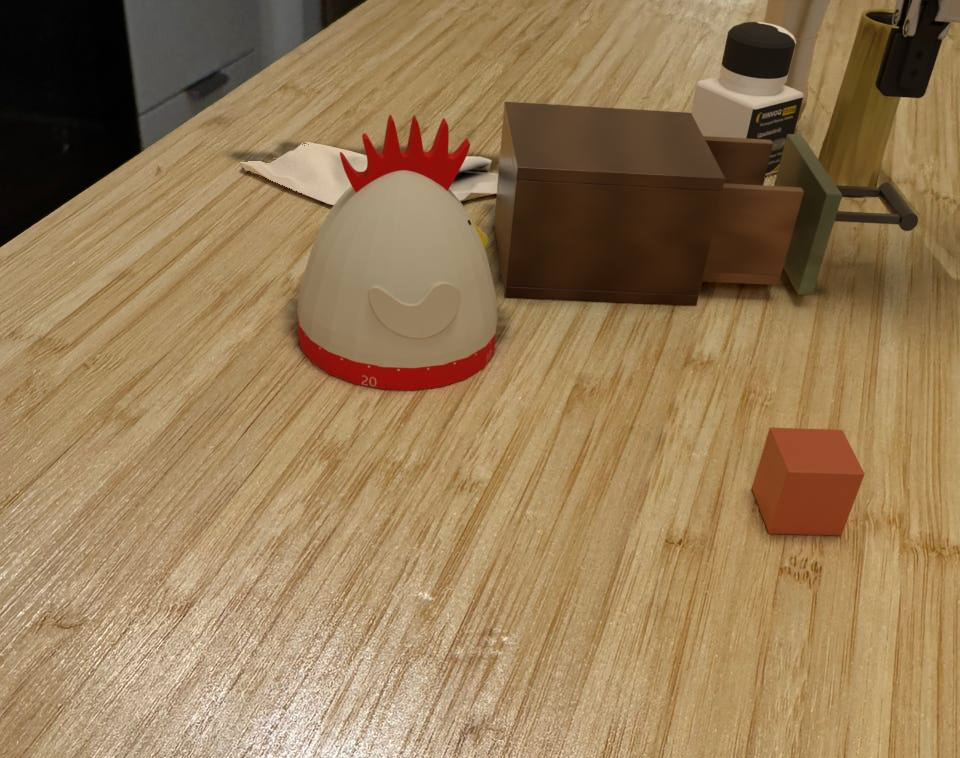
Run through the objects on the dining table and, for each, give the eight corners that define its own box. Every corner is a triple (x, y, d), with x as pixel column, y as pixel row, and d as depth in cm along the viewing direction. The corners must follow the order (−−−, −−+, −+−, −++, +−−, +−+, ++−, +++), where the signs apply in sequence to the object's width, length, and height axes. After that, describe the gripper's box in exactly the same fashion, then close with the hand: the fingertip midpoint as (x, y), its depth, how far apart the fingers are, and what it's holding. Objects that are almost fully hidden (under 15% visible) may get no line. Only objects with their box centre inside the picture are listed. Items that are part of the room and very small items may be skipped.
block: (821, 490, 71) (842, 429, 68) (842, 536, 68) (865, 474, 64) (751, 488, 70) (769, 426, 67) (768, 534, 67) (788, 471, 64)
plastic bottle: (761, 109, 120) (815, -113, 106) (812, 131, 117) (874, -96, 103) (721, 120, 117) (770, -108, 103) (772, 142, 113) (830, -91, 100)
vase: (883, 182, 108) (936, 17, 98) (865, 203, 104) (918, 33, 94) (822, 165, 110) (868, 2, 100) (802, 185, 106) (847, 17, 96)
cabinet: (667, 232, 96) (691, 112, 90) (696, 306, 87) (725, 178, 80) (494, 224, 95) (504, 101, 88) (504, 297, 86) (517, 167, 79)
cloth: (213, 195, 95) (211, 168, 93) (264, 136, 105) (262, 111, 103) (520, 241, 93) (523, 213, 91) (543, 176, 103) (545, 151, 101)
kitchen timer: (514, 386, 77) (538, 161, 66) (308, 394, 74) (301, 162, 64) (473, 288, 87) (489, 79, 76) (290, 292, 84) (281, 76, 73)
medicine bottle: (736, 186, 105) (769, 45, 96) (680, 159, 108) (706, 21, 100) (785, 171, 108) (821, 34, 100) (729, 145, 112) (759, 11, 104)
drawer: (864, 234, 97) (894, 139, 91) (908, 300, 88) (944, 200, 83) (617, 222, 95) (633, 124, 89) (639, 288, 87) (658, 184, 81)
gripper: (1108, -200, 64) (986, 135, 77) (1009, -238, 75) (916, 62, 87) (980, -210, 63) (878, 129, 76) (898, -247, 74) (821, 56, 87)
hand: (898, 92), depth 82 cm, fingers closed
